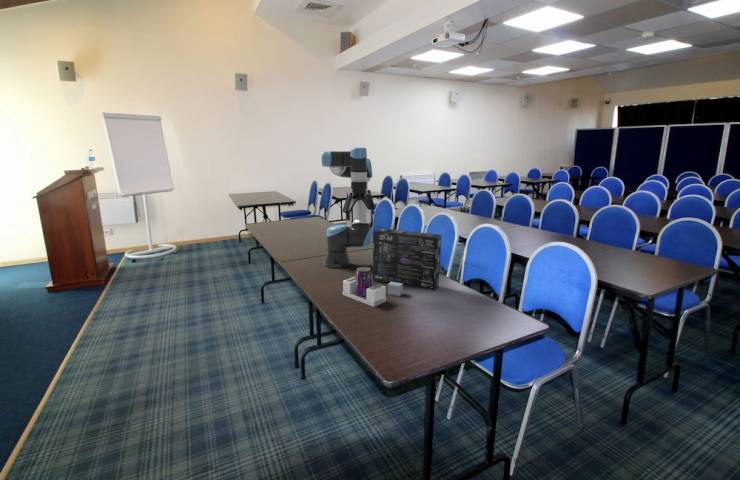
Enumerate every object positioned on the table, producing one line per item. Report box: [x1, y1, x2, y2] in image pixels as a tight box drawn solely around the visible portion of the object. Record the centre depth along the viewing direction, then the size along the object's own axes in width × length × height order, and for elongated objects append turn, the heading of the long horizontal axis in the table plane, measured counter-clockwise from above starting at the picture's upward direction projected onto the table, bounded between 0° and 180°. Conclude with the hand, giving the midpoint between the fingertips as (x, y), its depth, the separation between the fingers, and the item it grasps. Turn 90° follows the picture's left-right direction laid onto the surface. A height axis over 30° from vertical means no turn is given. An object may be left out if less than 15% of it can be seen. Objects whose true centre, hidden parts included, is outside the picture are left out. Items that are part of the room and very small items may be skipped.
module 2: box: [366, 283, 387, 302], centre depth 162 cm, size 8×4×6 cm, turn 137°
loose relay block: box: [387, 282, 404, 297], centre depth 172 cm, size 4×6×5 cm, turn 62°
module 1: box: [342, 276, 356, 293], centre depth 172 cm, size 8×4×6 cm, turn 137°
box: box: [372, 228, 442, 291], centre depth 183 cm, size 33×7×27 cm, turn 65°
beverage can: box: [355, 266, 373, 296], centre depth 166 cm, size 7×7×12 cm
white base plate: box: [342, 290, 387, 308], centre depth 167 cm, size 8×20×2 cm, turn 47°
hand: (359, 224), depth 180 cm, fingers open, 13 cm apart
